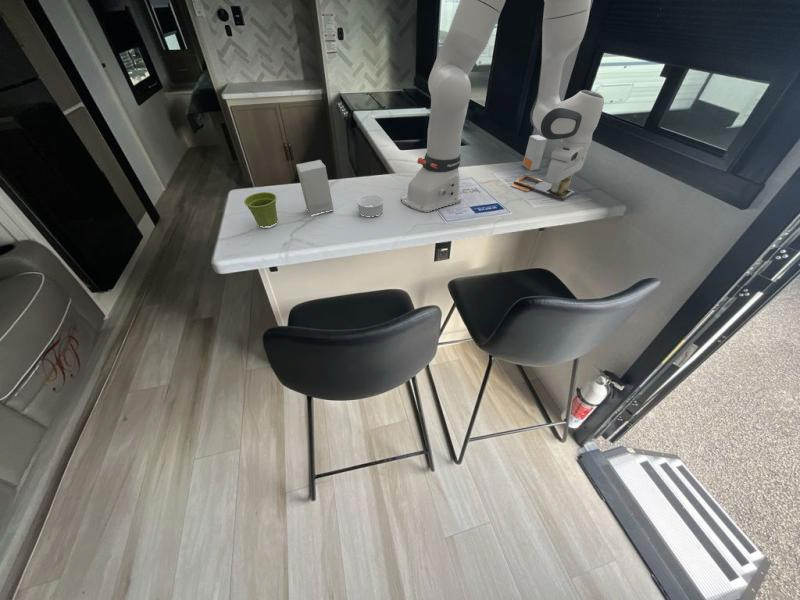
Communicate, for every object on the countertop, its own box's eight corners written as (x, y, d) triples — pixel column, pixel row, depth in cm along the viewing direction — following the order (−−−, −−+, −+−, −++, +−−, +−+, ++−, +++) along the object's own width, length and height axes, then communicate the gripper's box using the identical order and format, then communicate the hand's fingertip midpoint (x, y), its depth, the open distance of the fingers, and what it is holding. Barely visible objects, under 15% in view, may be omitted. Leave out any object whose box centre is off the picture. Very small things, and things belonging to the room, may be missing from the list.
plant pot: (288, 224, 104) (281, 199, 98) (261, 235, 99) (252, 209, 93) (274, 214, 109) (267, 189, 103) (248, 224, 104) (238, 199, 98)
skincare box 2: (522, 165, 138) (529, 135, 129) (530, 164, 139) (538, 134, 130) (530, 170, 133) (538, 140, 125) (539, 169, 134) (547, 138, 126)
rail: (559, 203, 112) (560, 200, 112) (509, 185, 123) (510, 182, 122) (573, 194, 118) (574, 190, 117) (524, 177, 129) (525, 174, 128)
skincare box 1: (329, 204, 114) (321, 158, 103) (334, 212, 110) (327, 166, 99) (305, 209, 111) (295, 163, 101) (310, 217, 107) (299, 170, 96)
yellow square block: (560, 198, 116) (566, 182, 112) (548, 194, 118) (553, 178, 114) (566, 194, 118) (572, 178, 114) (554, 190, 120) (560, 174, 116)
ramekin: (355, 209, 111) (353, 197, 108) (379, 204, 114) (378, 192, 111) (362, 221, 105) (361, 209, 102) (387, 216, 108) (387, 204, 105)
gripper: (578, 138, 114) (564, 177, 123) (549, 153, 104) (537, 194, 113) (596, 143, 110) (581, 182, 120) (568, 158, 100) (553, 200, 110)
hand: (559, 188), depth 117 cm, fingers open, 5 cm apart
